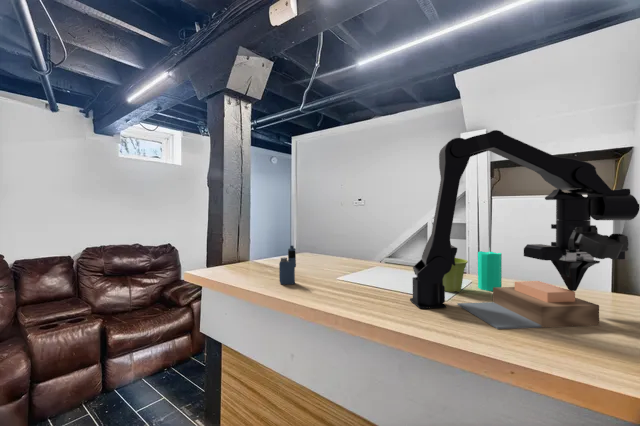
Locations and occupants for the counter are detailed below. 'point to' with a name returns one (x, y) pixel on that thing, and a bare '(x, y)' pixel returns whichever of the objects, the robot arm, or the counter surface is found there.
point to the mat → (498, 315)
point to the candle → (489, 270)
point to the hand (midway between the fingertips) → (572, 290)
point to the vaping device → (288, 267)
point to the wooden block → (547, 309)
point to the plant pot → (455, 276)
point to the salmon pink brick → (545, 291)
